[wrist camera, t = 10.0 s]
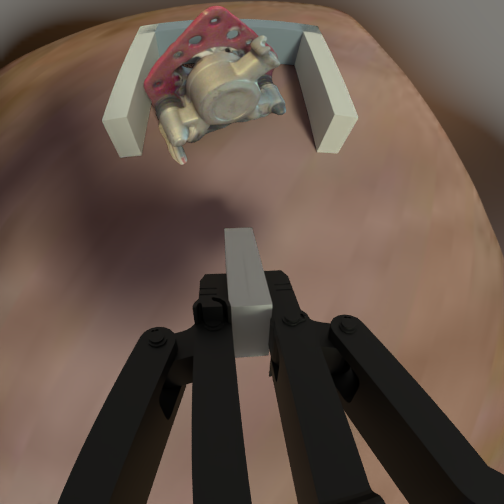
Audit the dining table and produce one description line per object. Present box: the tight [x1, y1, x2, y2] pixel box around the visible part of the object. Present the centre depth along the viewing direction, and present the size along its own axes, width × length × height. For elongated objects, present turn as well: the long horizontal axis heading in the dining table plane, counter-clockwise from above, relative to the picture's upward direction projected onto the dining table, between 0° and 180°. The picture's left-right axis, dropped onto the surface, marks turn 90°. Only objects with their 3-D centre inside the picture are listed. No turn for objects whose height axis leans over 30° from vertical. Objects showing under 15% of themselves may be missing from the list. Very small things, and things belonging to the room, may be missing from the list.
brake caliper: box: [144, 6, 286, 165], centre depth 20 cm, size 11×11×12 cm
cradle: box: [102, 19, 358, 158], centre depth 22 cm, size 15×19×5 cm
